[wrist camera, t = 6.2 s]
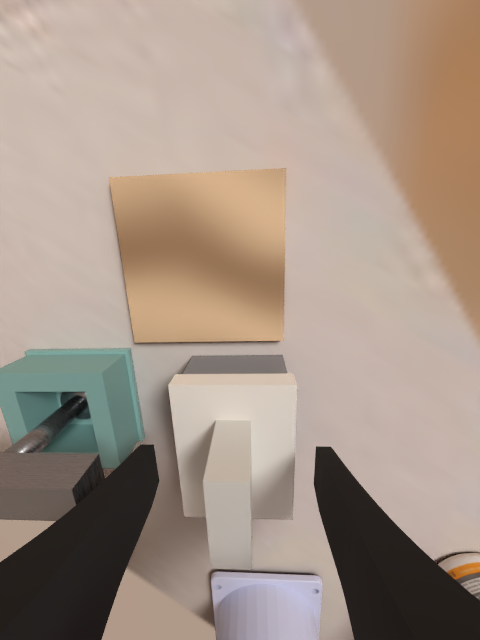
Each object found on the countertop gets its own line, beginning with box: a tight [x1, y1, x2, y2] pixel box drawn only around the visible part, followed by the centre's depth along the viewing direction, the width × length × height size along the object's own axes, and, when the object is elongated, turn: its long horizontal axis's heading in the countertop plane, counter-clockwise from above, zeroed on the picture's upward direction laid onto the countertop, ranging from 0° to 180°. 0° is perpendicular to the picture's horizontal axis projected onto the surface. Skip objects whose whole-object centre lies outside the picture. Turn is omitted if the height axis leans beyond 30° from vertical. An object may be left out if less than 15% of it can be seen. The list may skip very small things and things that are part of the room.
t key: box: [0, 392, 105, 521], centre depth 12 cm, size 8×2×6 cm, turn 92°
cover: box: [168, 373, 297, 570], centre depth 10 cm, size 7×5×4 cm
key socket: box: [0, 348, 145, 469], centre depth 14 cm, size 6×6×2 cm
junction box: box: [183, 355, 287, 374], centre depth 13 cm, size 7×5×2 cm
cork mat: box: [109, 168, 286, 343], centre depth 12 cm, size 8×8×1 cm
